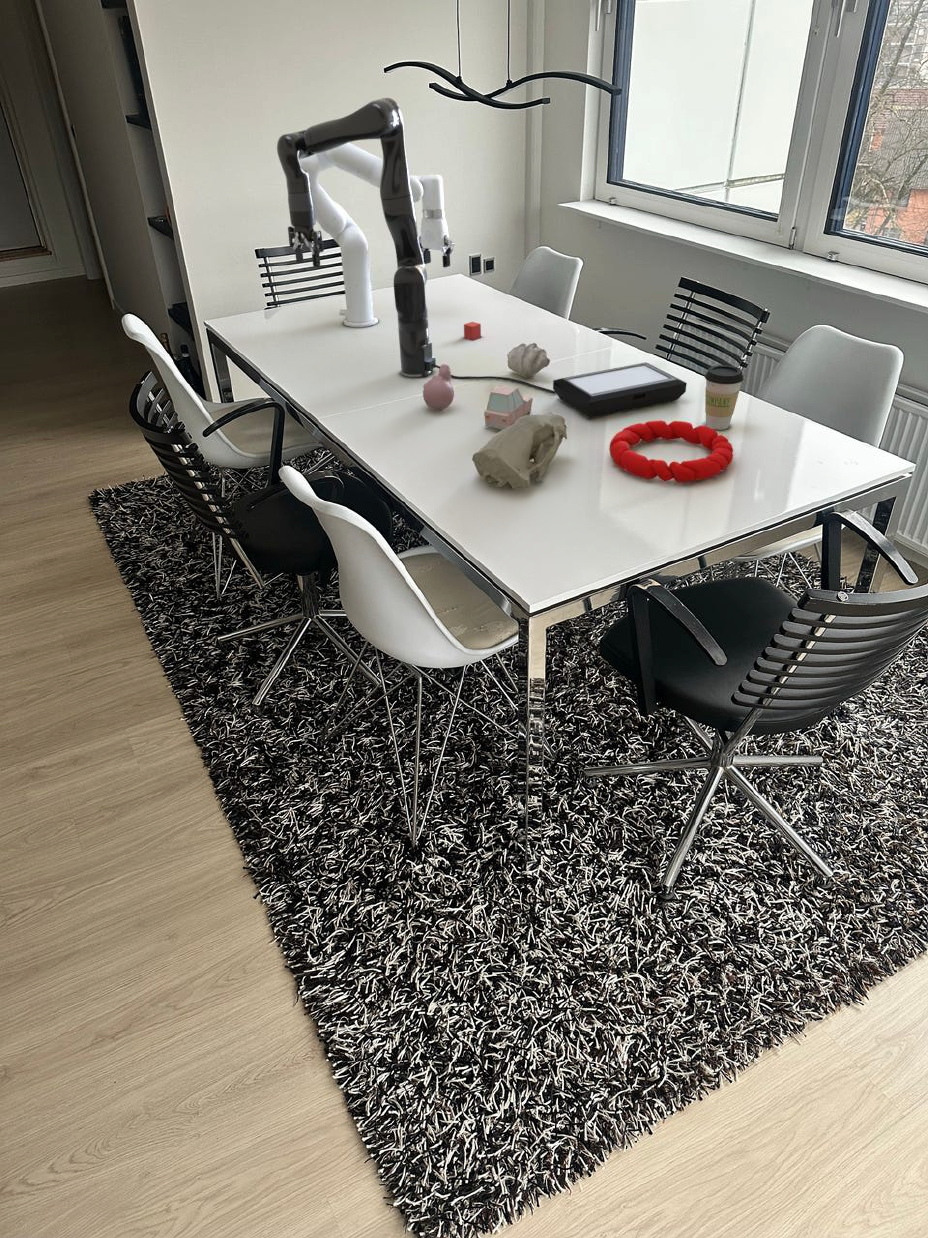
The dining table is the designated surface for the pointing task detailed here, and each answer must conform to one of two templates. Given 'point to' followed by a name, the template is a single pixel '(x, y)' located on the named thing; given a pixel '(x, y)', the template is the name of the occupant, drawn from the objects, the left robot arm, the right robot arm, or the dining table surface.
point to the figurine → (439, 389)
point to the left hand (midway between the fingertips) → (436, 264)
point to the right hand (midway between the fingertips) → (308, 264)
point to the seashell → (527, 359)
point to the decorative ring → (676, 471)
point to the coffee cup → (721, 395)
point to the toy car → (506, 407)
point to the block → (472, 330)
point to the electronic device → (619, 389)
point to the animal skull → (521, 450)
